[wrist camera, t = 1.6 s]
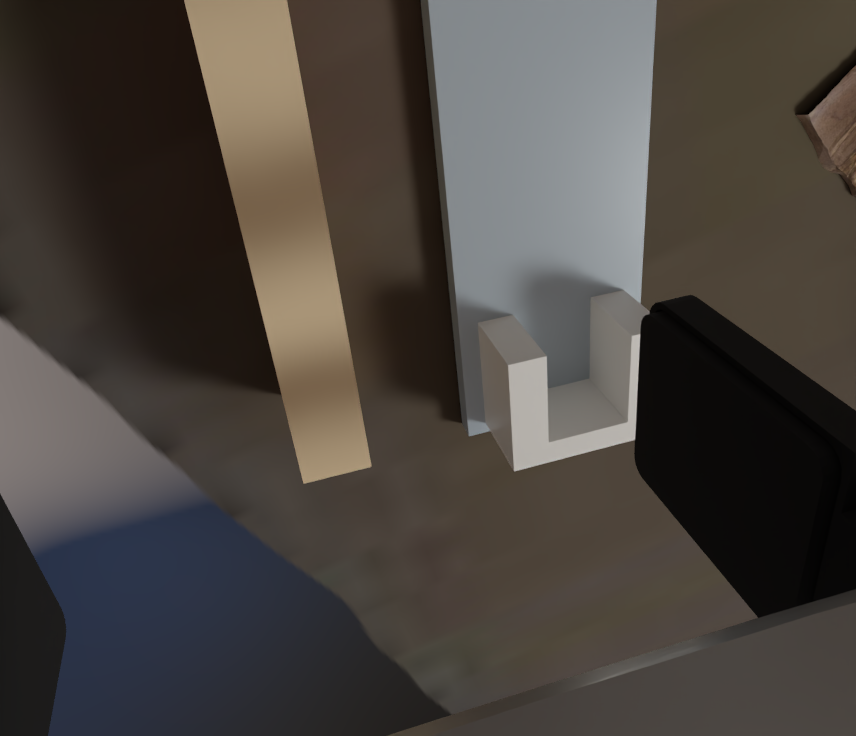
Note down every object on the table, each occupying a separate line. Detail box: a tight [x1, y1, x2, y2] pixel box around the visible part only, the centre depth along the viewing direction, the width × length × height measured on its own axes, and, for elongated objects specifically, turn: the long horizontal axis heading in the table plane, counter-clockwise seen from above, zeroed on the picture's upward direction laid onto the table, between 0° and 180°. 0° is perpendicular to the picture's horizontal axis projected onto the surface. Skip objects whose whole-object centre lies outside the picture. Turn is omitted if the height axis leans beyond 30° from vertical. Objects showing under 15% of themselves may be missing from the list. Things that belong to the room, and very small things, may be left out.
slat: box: [184, 0, 371, 483], centre depth 23 cm, size 20×2×6 cm, turn 6°
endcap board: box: [420, 0, 657, 471], centre depth 25 cm, size 27×8×4 cm, turn 6°
